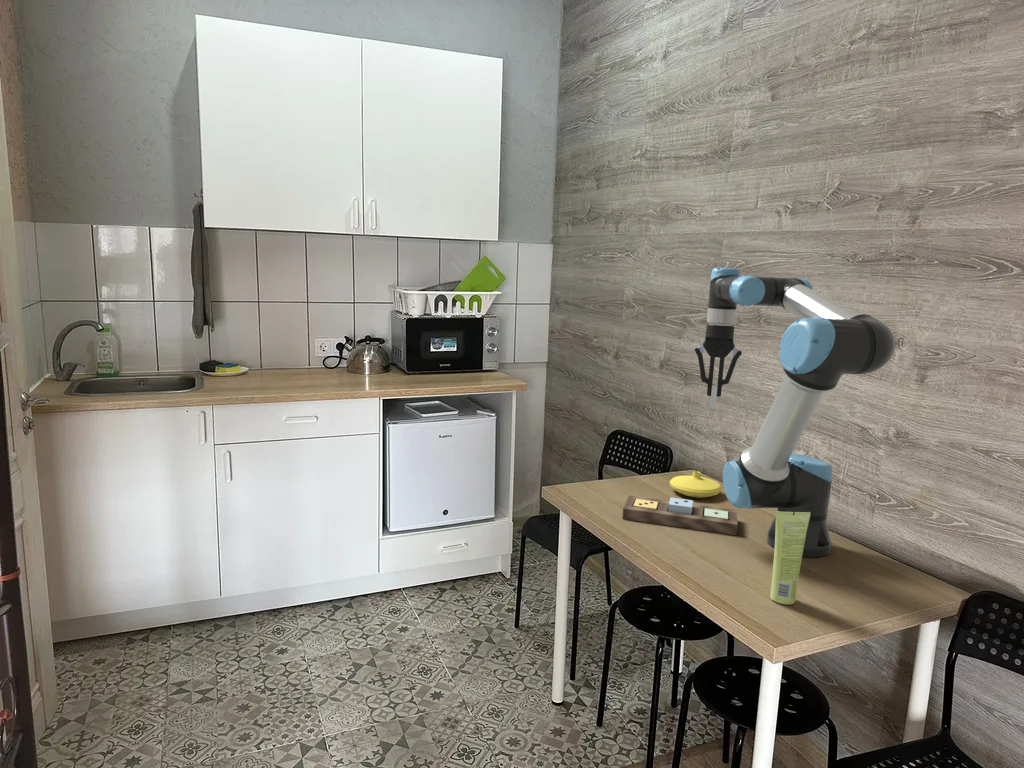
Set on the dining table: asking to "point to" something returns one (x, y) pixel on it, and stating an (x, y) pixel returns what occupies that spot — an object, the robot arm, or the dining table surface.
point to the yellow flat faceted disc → (695, 485)
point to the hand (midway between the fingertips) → (712, 407)
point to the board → (681, 516)
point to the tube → (788, 555)
